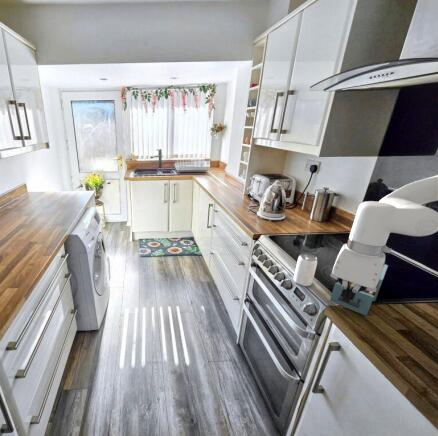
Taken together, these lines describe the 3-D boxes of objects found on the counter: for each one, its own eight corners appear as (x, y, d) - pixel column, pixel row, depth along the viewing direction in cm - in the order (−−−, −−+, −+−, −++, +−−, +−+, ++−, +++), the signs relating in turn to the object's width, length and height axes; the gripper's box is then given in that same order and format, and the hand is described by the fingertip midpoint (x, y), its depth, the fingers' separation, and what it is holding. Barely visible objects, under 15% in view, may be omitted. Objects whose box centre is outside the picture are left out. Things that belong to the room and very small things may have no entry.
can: (295, 285, 97) (300, 259, 92) (292, 276, 102) (297, 251, 98) (313, 288, 95) (320, 262, 90) (309, 278, 100) (315, 253, 96)
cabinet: (374, 301, 86) (382, 280, 83) (336, 287, 95) (342, 267, 91) (380, 285, 95) (388, 265, 91) (344, 273, 103) (350, 254, 99)
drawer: (364, 322, 77) (371, 303, 74) (326, 306, 84) (331, 288, 81) (373, 298, 87) (379, 281, 84) (338, 286, 94) (343, 269, 91)
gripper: (404, 251, 63) (381, 306, 70) (335, 234, 73) (321, 283, 80) (401, 261, 58) (377, 319, 65) (328, 241, 69) (314, 293, 75)
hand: (346, 299), depth 72 cm, fingers closed
